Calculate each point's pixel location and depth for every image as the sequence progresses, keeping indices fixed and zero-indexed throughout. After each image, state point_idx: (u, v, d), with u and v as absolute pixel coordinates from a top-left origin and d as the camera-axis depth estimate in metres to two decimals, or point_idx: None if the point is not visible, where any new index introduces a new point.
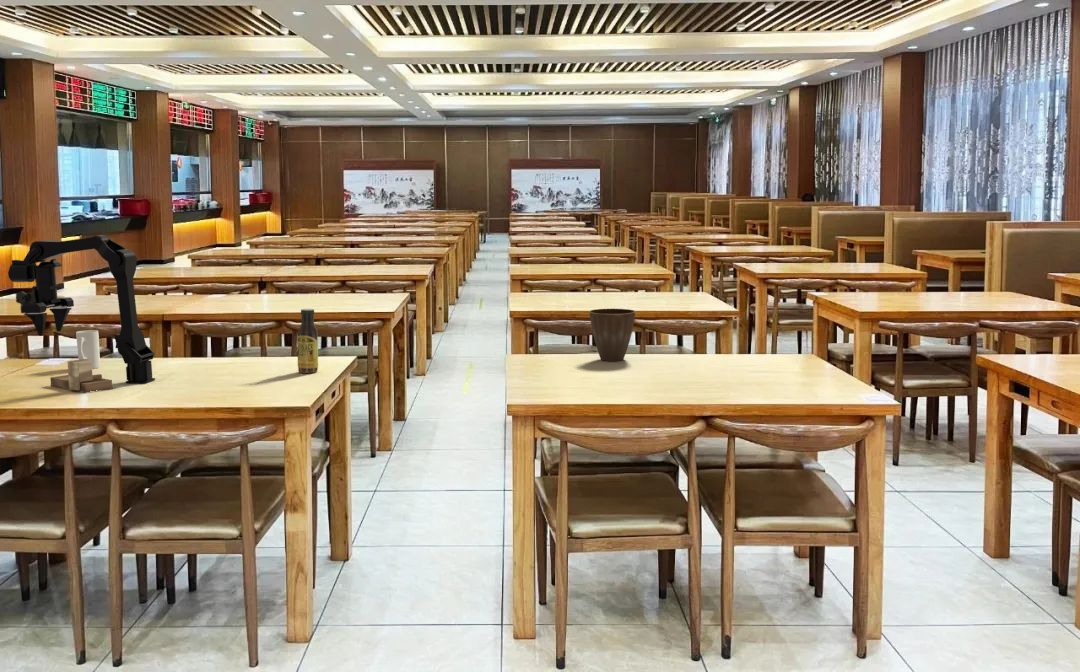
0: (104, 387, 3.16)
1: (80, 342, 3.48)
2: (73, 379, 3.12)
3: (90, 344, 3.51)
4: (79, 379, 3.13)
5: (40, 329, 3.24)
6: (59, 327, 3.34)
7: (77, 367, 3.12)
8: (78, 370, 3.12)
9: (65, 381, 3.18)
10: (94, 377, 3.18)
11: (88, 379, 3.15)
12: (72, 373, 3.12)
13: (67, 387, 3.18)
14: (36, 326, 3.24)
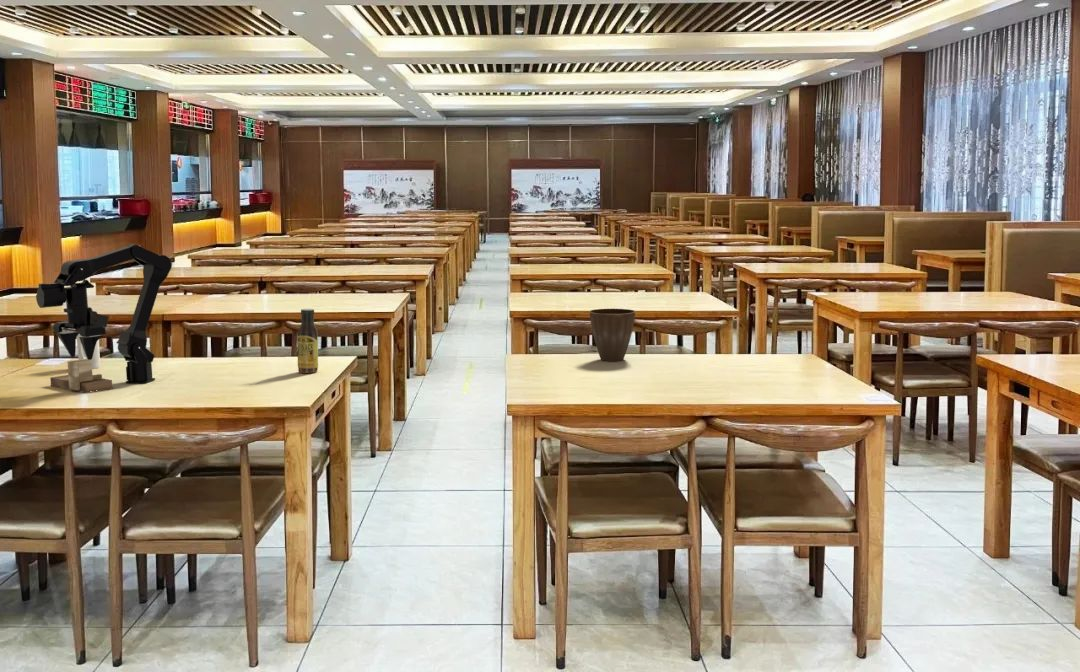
0: (104, 387, 3.16)
1: (80, 342, 3.48)
2: (73, 379, 3.12)
3: None
4: (79, 379, 3.13)
5: None
6: None
7: (77, 367, 3.12)
8: (78, 370, 3.12)
9: (65, 381, 3.18)
10: (94, 377, 3.18)
11: (88, 379, 3.15)
12: (72, 373, 3.12)
13: (67, 387, 3.18)
14: None
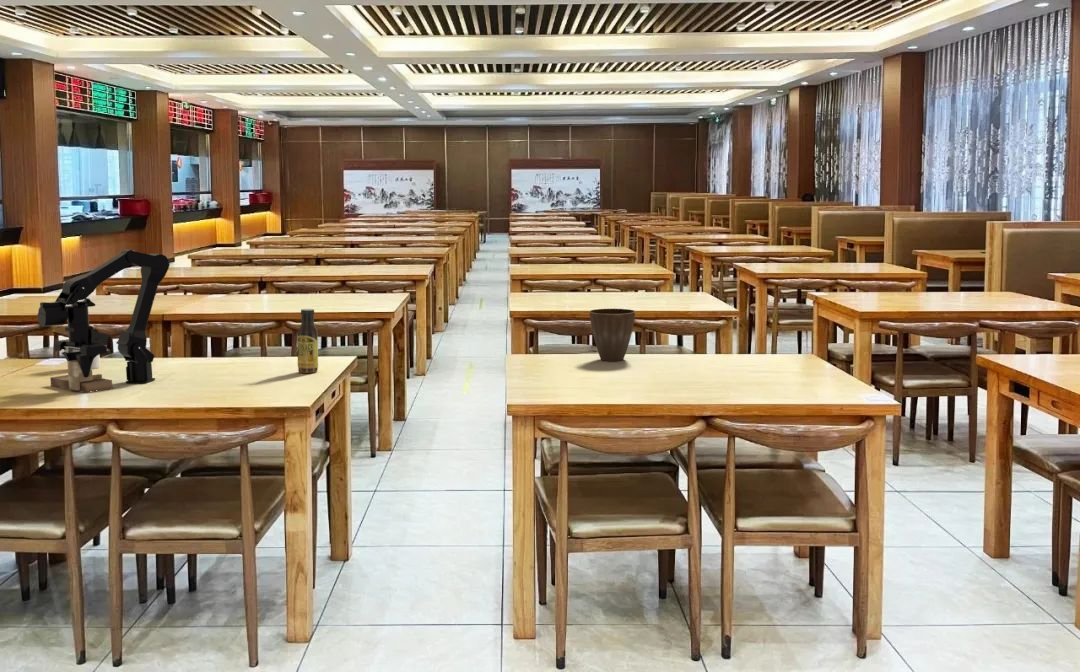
0: (104, 387, 3.16)
1: None
2: (73, 379, 3.12)
3: None
4: (79, 379, 3.13)
5: None
6: None
7: (77, 367, 3.12)
8: (78, 370, 3.12)
9: (65, 381, 3.18)
10: (94, 377, 3.18)
11: (88, 379, 3.15)
12: (72, 373, 3.12)
13: (67, 387, 3.18)
14: None
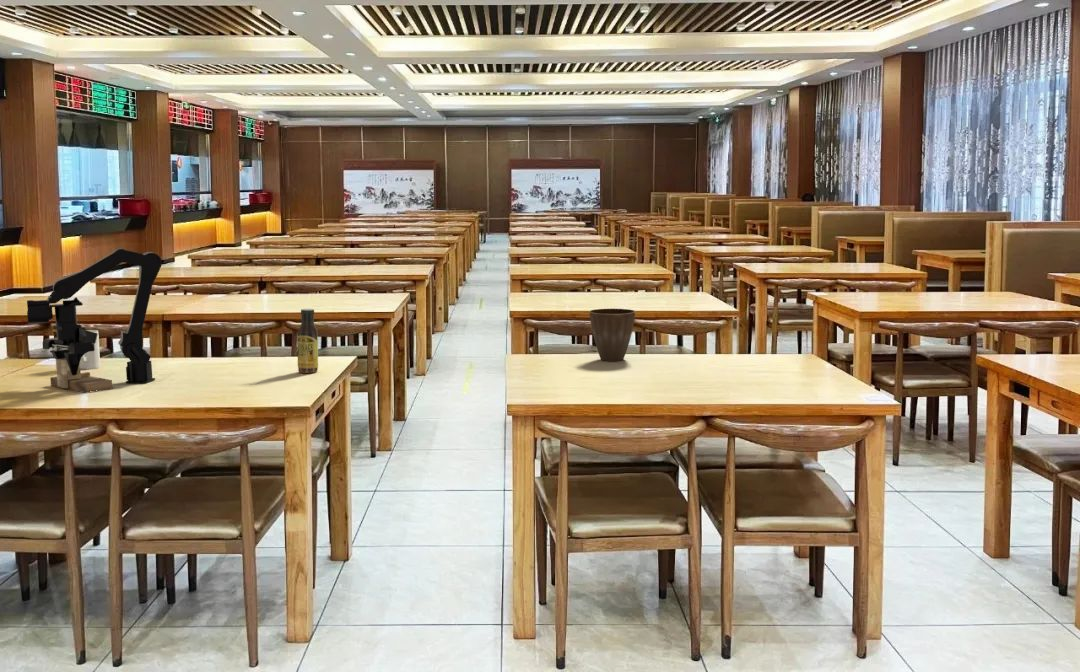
0: (104, 387, 3.16)
1: None
2: (61, 377, 3.16)
3: None
4: (67, 377, 3.17)
5: None
6: None
7: (65, 365, 3.16)
8: (66, 367, 3.16)
9: None
10: (82, 375, 3.22)
11: (76, 377, 3.19)
12: (60, 371, 3.16)
13: None
14: None
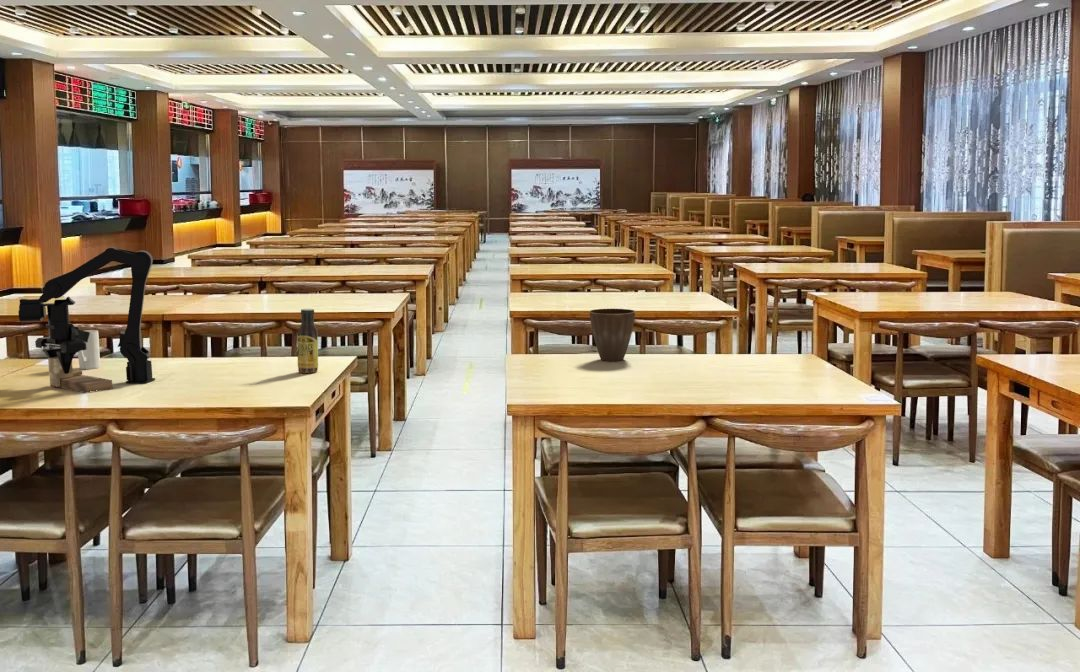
0: (104, 387, 3.16)
1: None
2: (53, 375, 3.19)
3: (90, 344, 3.51)
4: (59, 375, 3.19)
5: None
6: None
7: (57, 364, 3.18)
8: (59, 366, 3.19)
9: (65, 381, 3.18)
10: (74, 373, 3.24)
11: (68, 375, 3.21)
12: (53, 369, 3.19)
13: (67, 387, 3.18)
14: None
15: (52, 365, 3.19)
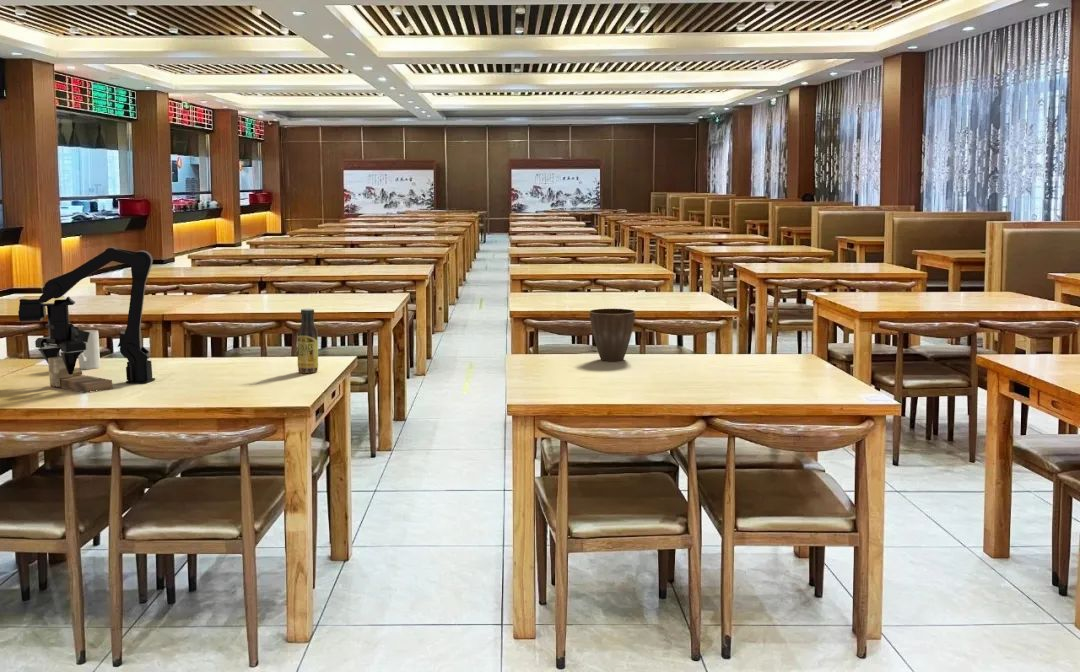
0: (104, 387, 3.16)
1: None
2: (53, 375, 3.19)
3: (90, 344, 3.51)
4: (59, 375, 3.19)
5: None
6: None
7: (57, 364, 3.18)
8: (58, 366, 3.19)
9: (65, 381, 3.18)
10: (74, 373, 3.24)
11: (68, 375, 3.21)
12: (52, 369, 3.19)
13: (67, 387, 3.18)
14: None
15: (52, 365, 3.19)
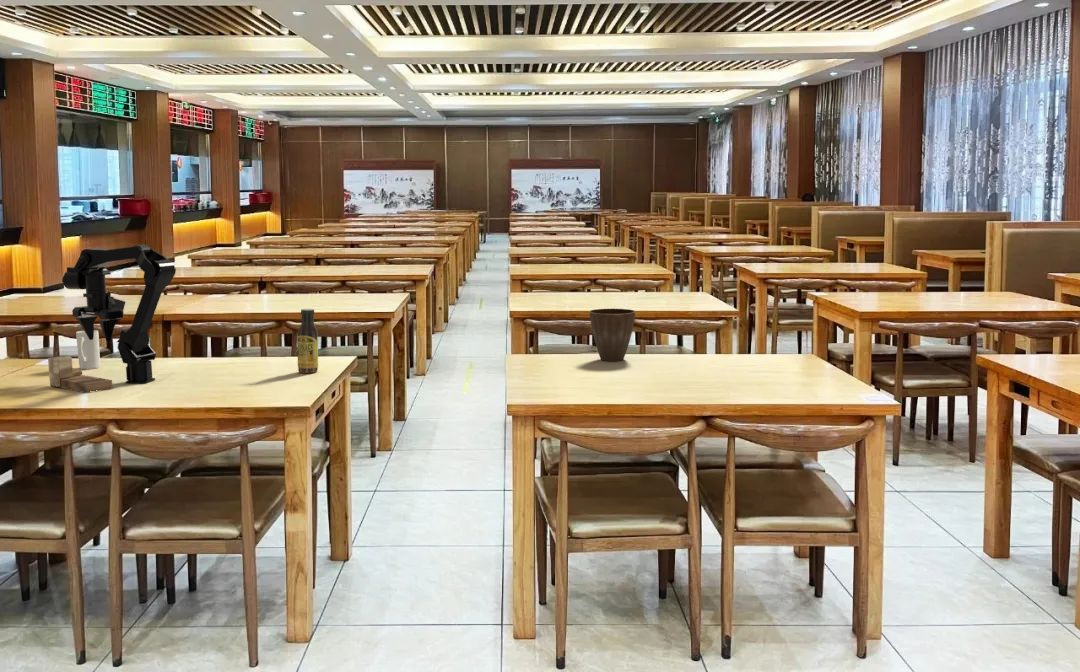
0: (104, 387, 3.16)
1: (80, 342, 3.48)
2: (53, 375, 3.19)
3: (90, 344, 3.51)
4: (59, 375, 3.19)
5: None
6: None
7: (57, 364, 3.18)
8: (58, 366, 3.19)
9: (65, 381, 3.18)
10: (74, 373, 3.24)
11: (68, 375, 3.21)
12: (52, 369, 3.19)
13: (67, 387, 3.18)
14: None
15: (52, 365, 3.19)
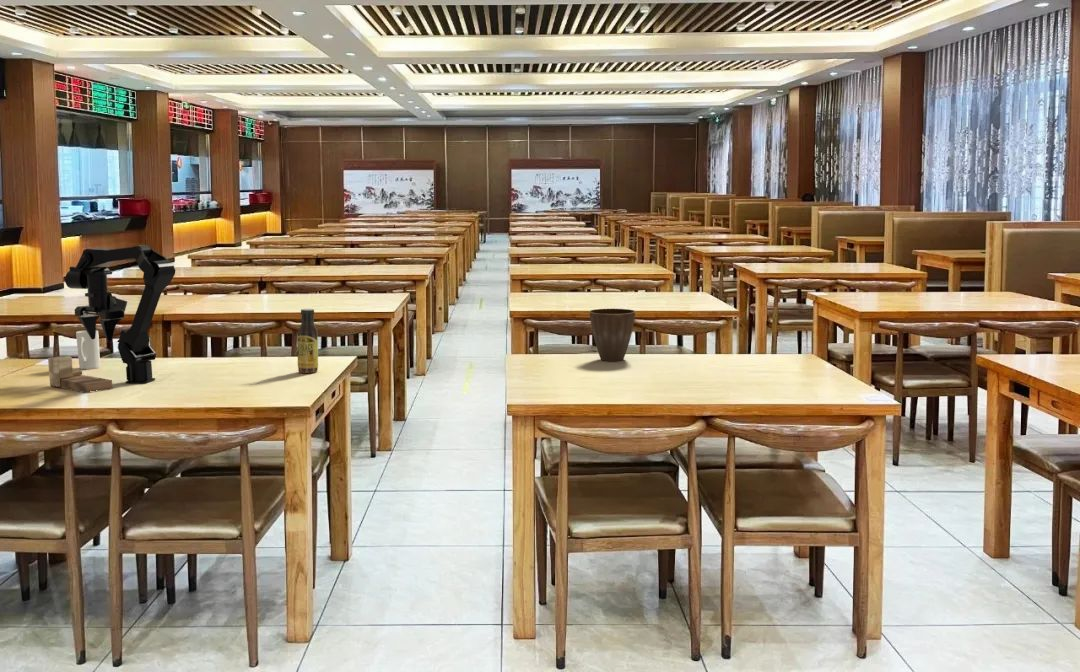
0: (104, 387, 3.16)
1: (80, 342, 3.48)
2: (53, 375, 3.19)
3: (90, 344, 3.51)
4: (59, 375, 3.19)
5: None
6: None
7: (57, 364, 3.18)
8: (58, 366, 3.19)
9: (65, 381, 3.18)
10: (74, 373, 3.24)
11: (68, 375, 3.21)
12: (52, 369, 3.19)
13: (67, 387, 3.18)
14: None
15: (52, 365, 3.19)
